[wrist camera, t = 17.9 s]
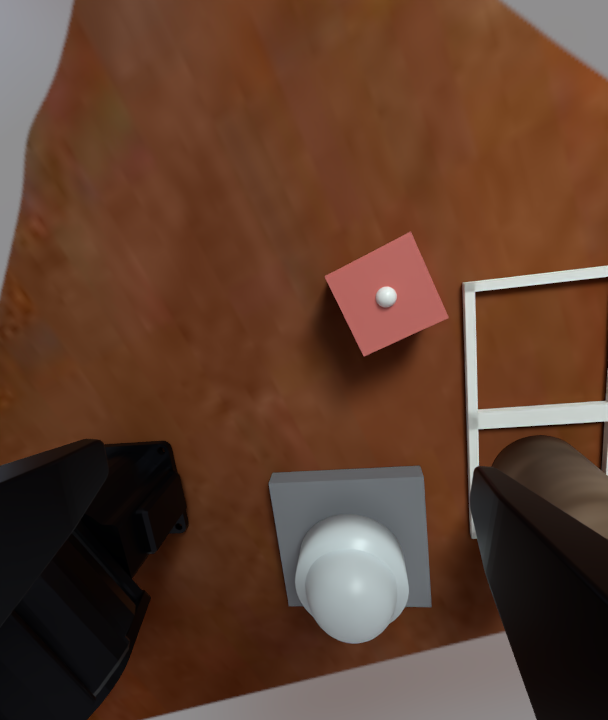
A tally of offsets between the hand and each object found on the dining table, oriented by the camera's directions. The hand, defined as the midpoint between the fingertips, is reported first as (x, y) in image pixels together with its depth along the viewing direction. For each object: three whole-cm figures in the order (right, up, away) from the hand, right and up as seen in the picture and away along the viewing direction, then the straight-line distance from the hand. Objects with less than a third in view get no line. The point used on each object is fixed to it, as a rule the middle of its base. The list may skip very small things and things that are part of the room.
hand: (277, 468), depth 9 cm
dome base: (+4, -8, +15) cm, 18 cm away
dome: (+3, -9, +13) cm, 16 cm away
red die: (+5, +6, +11) cm, 14 cm away
